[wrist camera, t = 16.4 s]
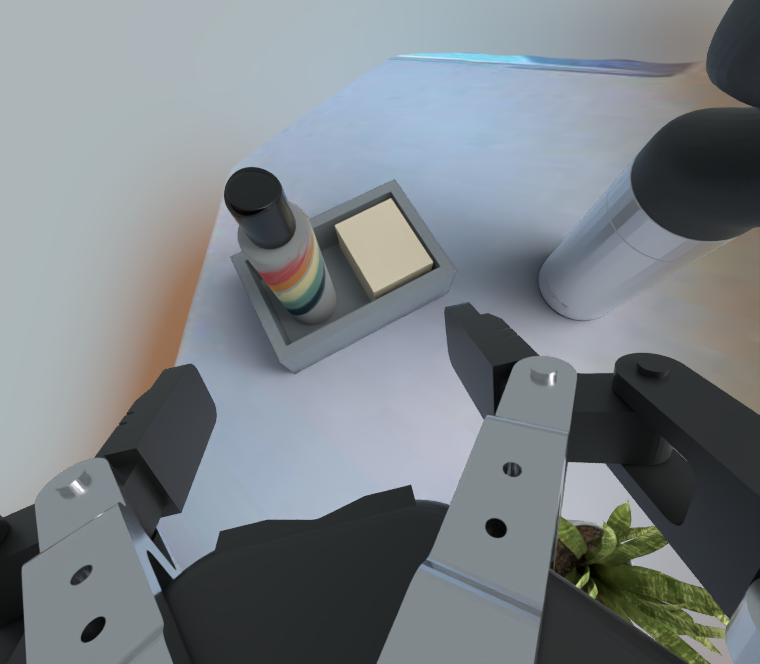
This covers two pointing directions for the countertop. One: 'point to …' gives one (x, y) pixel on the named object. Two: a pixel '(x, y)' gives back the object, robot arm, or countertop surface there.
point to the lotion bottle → (280, 244)
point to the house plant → (635, 581)
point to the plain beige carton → (382, 249)
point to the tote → (345, 288)
